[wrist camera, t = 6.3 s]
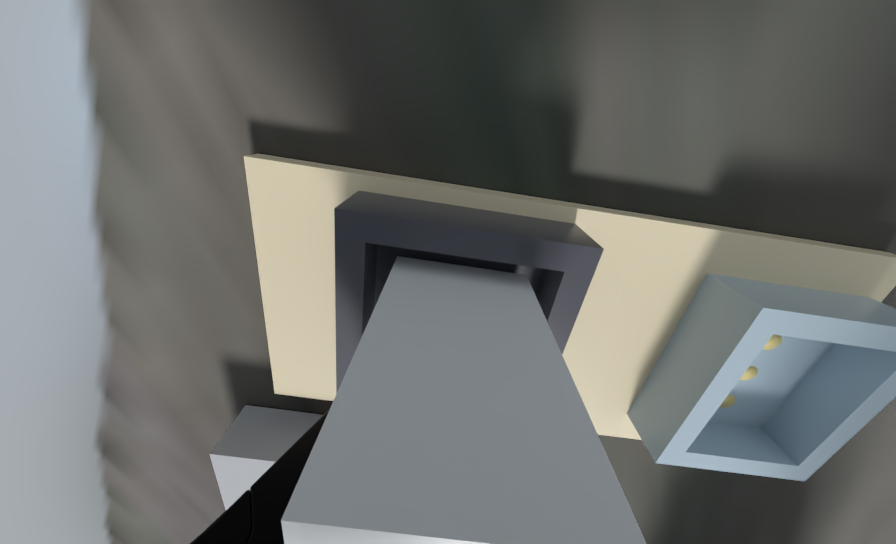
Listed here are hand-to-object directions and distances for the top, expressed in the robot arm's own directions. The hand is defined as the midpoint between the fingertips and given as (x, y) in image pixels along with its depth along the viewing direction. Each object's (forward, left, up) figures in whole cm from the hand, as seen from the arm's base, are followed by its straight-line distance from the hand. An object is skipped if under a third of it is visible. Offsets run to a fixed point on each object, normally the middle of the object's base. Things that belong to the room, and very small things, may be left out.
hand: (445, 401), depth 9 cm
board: (-4, 0, -4) cm, 6 cm away
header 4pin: (0, 0, -4) cm, 5 cm away
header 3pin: (-11, 0, -4) cm, 12 cm away
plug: (0, 0, -2) cm, 2 cm away
